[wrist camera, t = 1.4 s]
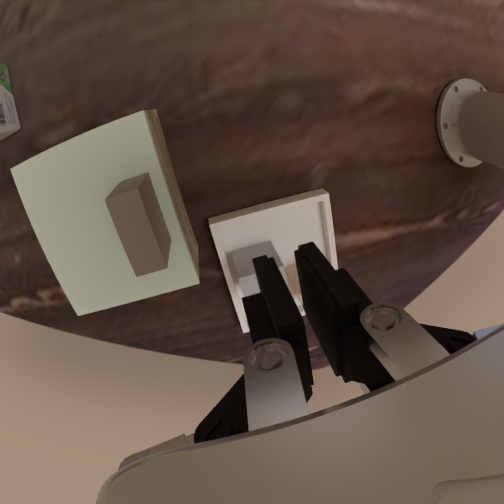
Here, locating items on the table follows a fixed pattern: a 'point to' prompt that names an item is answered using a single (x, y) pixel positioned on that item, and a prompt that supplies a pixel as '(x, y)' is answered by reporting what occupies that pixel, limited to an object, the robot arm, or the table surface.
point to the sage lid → (106, 216)
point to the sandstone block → (294, 280)
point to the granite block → (247, 269)
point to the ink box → (7, 105)
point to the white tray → (274, 235)
